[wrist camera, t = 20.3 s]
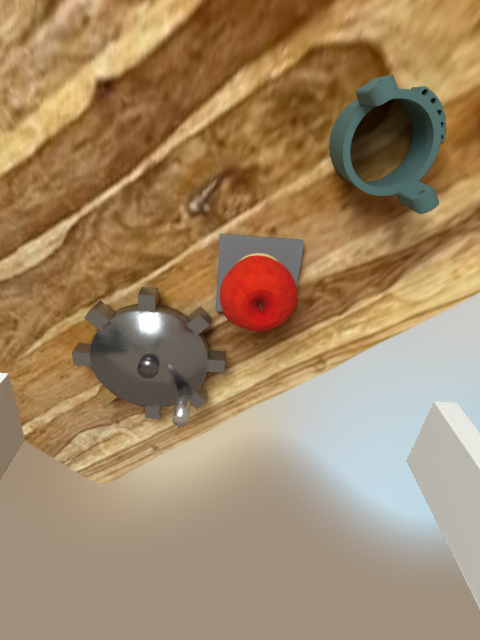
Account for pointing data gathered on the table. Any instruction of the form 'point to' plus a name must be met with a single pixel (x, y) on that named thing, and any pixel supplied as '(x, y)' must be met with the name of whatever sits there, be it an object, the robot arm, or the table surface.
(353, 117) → the bracket
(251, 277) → the apple
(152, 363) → the hub
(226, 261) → the seat
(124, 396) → the sprocket
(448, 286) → the table surface
